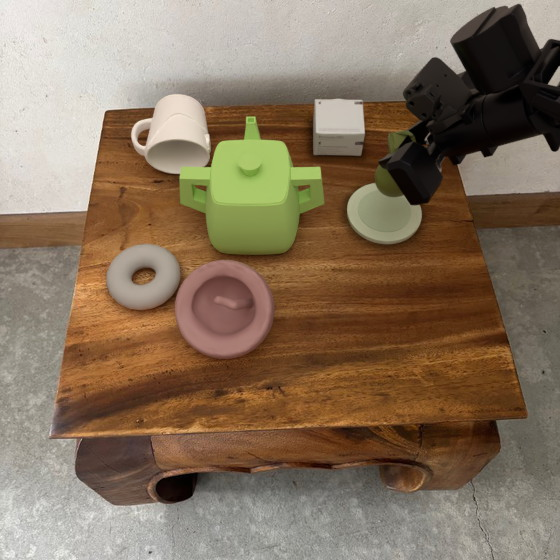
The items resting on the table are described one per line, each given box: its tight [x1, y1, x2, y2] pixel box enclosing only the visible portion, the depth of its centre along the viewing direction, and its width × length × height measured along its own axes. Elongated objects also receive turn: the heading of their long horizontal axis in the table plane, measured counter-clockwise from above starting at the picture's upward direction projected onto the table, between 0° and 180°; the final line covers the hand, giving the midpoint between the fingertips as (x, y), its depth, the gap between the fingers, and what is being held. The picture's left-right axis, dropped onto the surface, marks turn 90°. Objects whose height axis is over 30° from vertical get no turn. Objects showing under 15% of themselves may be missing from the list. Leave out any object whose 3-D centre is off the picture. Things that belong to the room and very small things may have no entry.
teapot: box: [178, 116, 325, 256], centre depth 76 cm, size 18×20×13 cm
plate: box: [346, 182, 423, 245], centre depth 81 cm, size 11×11×1 cm
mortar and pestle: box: [174, 259, 276, 360], centre depth 67 cm, size 12×12×12 cm
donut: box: [105, 243, 182, 311], centre depth 74 cm, size 10×4×10 cm
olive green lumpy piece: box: [374, 129, 416, 197], centre depth 72 cm, size 6×5×10 cm
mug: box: [130, 93, 212, 175], centre depth 85 cm, size 12×9×8 cm
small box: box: [312, 98, 366, 157], centre depth 87 cm, size 8×8×5 cm
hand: (389, 152), depth 71 cm, fingers closed on olive green lumpy piece, 5 cm apart
